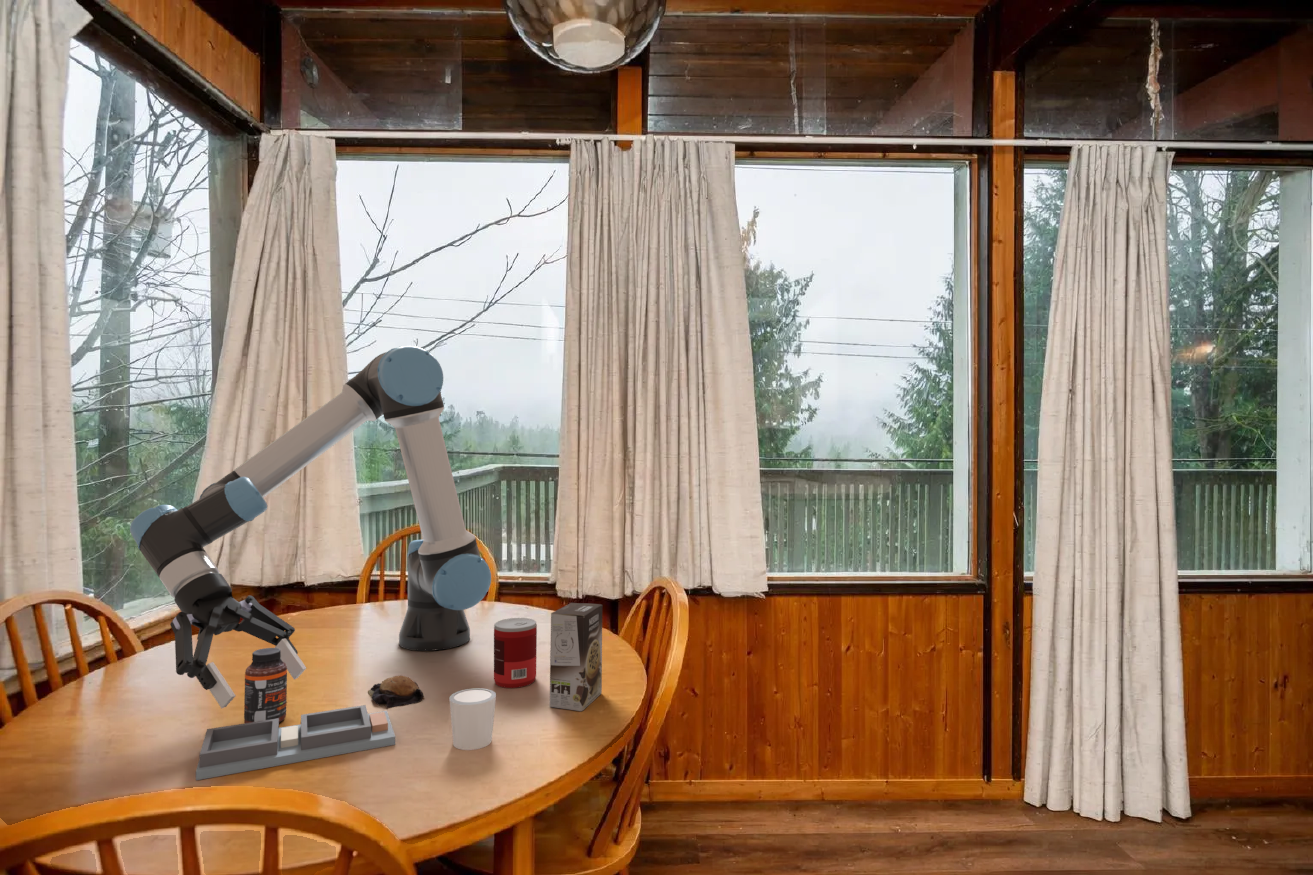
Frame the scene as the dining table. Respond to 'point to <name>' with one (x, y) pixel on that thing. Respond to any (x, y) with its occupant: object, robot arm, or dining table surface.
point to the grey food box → (576, 656)
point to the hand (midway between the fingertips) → (266, 687)
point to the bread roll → (396, 692)
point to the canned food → (515, 652)
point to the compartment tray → (292, 740)
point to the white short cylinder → (472, 718)
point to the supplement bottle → (265, 686)
